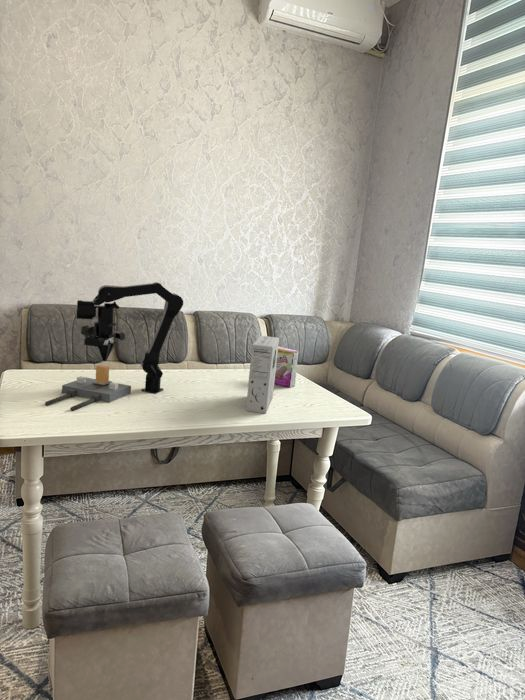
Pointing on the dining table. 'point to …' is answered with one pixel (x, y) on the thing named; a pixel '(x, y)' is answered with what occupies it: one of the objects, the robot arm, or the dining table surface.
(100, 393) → the panel
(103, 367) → the breaker handle
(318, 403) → the dining table surface
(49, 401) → the twin dark prongs
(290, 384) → the candy bar box
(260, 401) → the cereal box
